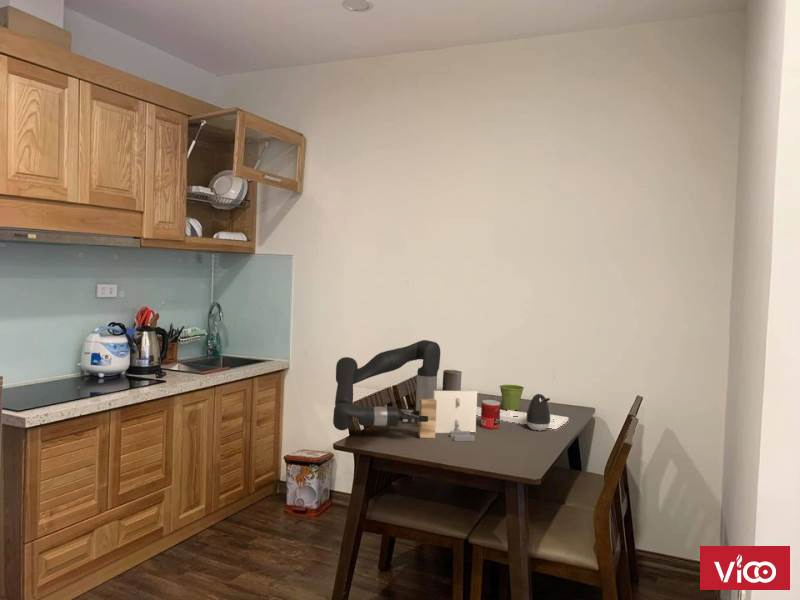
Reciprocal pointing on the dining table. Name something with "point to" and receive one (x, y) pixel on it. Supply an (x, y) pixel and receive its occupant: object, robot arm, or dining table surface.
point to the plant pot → (511, 396)
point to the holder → (521, 418)
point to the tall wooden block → (428, 410)
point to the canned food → (490, 414)
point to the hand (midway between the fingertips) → (425, 416)
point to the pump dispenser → (538, 413)
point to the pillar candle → (451, 380)
